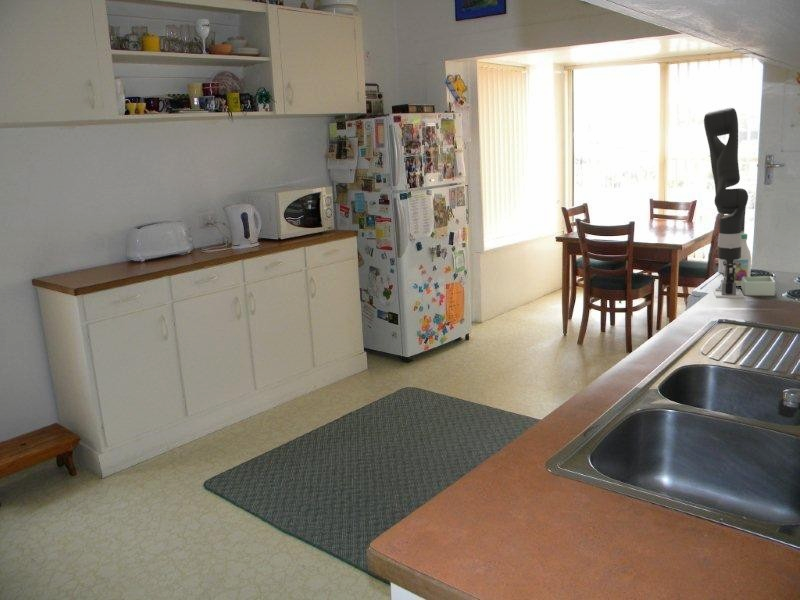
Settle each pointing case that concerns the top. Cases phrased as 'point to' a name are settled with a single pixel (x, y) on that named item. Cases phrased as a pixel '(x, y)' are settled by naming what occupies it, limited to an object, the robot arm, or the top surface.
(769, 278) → the green bin
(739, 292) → the white tray
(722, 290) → the gray cube
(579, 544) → the top surface
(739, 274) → the milk bottle
